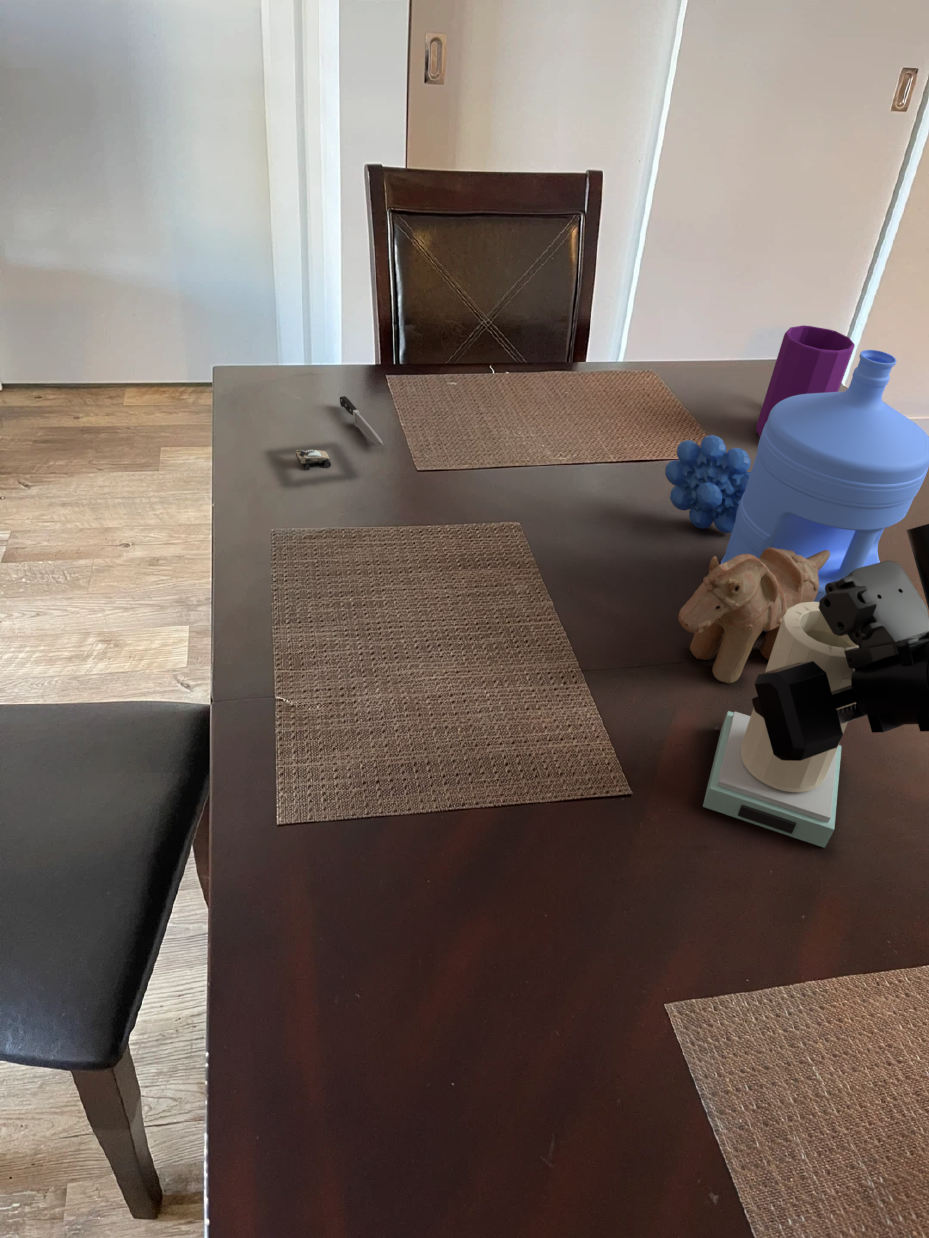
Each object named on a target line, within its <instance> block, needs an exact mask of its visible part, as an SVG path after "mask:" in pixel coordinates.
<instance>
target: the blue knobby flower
mask: <svg viewBox="0 0 929 1238" xmlns="http://www.w3.org/2000/svg"><path fill="white" fill-rule="evenodd" d="M676 456H677V458H678V459H674V460H670V461H669V462H668V463H667V464H666V465H665V472H664V475H665V477H666V479H667V481H668V482H669V483H670V484H671V485H672V486H673V487H672V489H671V490H670V496H669V499H670V502H671V504H672V505H673V506H674V507H675V508H676V509H677V510H680V511H688V510H689V512H688V518H689V520H690V523H691V524H692V525H693V526H694V527H696V528H698V529H704V530H706V529H709V528H710V527H711V526H712V524H714V526H715V528H716V529H717V530H718V531H719V532H721V533H723V534H732V531H733V527H734V524H735V520H736V514H737V510H738V507H739V504H740V500H741V498H742V496H743V494H744V492H745V489H746V486H747V483H748V480H749V477H750V474H751V471H749V470H750V468H751V462H752V460H751V458H750V456H749V454H748V452H747V451H746V450H745V449H743V448H740V447H732V448H730V449H728V451H727V446H726V444H725V442H724V440H723V439H722V438H720V437H719V436H717V435H715V434H710V435H706V436H704V437H703V439H702V440H701V442H700V444H698V443H697V442H696V441H694V440H690V439H687V440H683V441H681V442H679V444H678V445H677V449H676Z"/></svg>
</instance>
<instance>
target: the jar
mask: <svg viewBox="0 0 929 1238" xmlns="http://www.w3.org/2000/svg"><path fill="white" fill-rule="evenodd" d="M858 647H859V646H858V645H856V644H855V643H853V642H852V641H851V639H850V638H849V636H848V635H843V636H837V635H835V634H834V633H833V632H832V631H831V629H830V627H829V625H828V624H827V622H826V620H825V618H824V617H823V615H822V613H821V611H820V610H819V602H804V603H799V604H796V605H794V606H792V607H790V608H789V609H787V611H786V613H785V615H784V616H783V619H782V622H781V625H780V628H779V631H778V634H777V637H776V640H775V643H774V646H773V649H772V652H771V656H770V659H769V660H768V662H767V665H766V668H765V672H768V671H771V670H775V669H778V668H781V667H784V666H788V665H793V664H796V663H799V662H801V663H802V662H809V661H814V662H815V663H816V664H817V665H818V666H819V667H820V668H822V669H823V670H824V671H825V672H826V674H827V677H828V681H829V685H830V688H831V692H832V691H835V690H838V689H841V688H844V687H847V686H850V685H851V676H852V672H853V669H851V668H849V667H848V663H847V660H846V656H845V652H844V651H846V650H849V649H852V648H858ZM765 672H764V673H765ZM757 696H758V695H757V694H756V697H757ZM853 704H856V703H853ZM850 705H852V704H850ZM848 706H849V705H847V706H844V707H848ZM844 707H841V708H844ZM836 710H840V708H838V709H836ZM750 716H751V717H750V720H749V723H748V726H747V729H746V732H745V735H744V738H743V741H742V747H741V759H742V761H743V764H744V765H745V767H746V768H747V770H748V771H749V772H750V773H751V774H752V775H753V776H754V777H756V778H757V779H758V780H760V781H761V782H763V783H765V784H767V785H769V786H771V787H773V788H776V789H779V790H783V791H788V792H806V791H810V790H813V789H815V788H817V787H818V786H819V785H821V784H822V782H823V781H824V779H825V777H826V775H827V772H828V770H829V767H830V765H831V762H832V760H833V758H834V755H835V753H836V750H837V748H838V746H837V748H834V749H832V750H829V751H826V752H823V753H820V754H818V755H815V756H812V757H809V758H807V759H804V760H801V761H785V760H781V759H779V758H778V757H776V756H775V755H774V754H773V751H772V747H771V743H770V739H769V736H768V732H767V728H766V725H765V721H764V718H763V717H761V716H760V715H759V714H758V713H756V712H755V710H754V707H753V708H752V710H751V714H750ZM848 724H849V722H846V723H843V724H841V728H842V732H843V734H844V733H845V731H846V728H847V726H848ZM841 741H842V739H841V740H840V742H839V744H838V745H840V743H841Z"/></svg>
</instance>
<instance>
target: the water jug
mask: <svg viewBox="0 0 929 1238" xmlns="http://www.w3.org/2000/svg"><path fill="white" fill-rule="evenodd" d="M897 361H898V360H897V359H896V357H895V356H894V355H891V354H890V353H889V352H888V353H887V352H885V351H882V350H877V349H864V350H862V351H860V353H859V361H858V364H857V367H855V368H854V369H853V371H852V378H851V380H850V383H849V385H848V387H847V389H846V390H845V391H838V392H828V393H812V394H801V395H796V396H792V397H789V398H786V399H784V400H782V401H780V402H779V403H777V404H776V405H775V406H774V407H773V408H772V410H771V412H770V414H769V417H768V420H767V422H766V424H765V426H764V428H763V431H762V434H761V437H759V441H758V444H757V449H756V455H755V458H754V462H753V464H752V468H751V470H750V472H751V474H750V477H749V480H748V483H747V486H746V489H745V492H744V494H743V496H742V498H741V500H740V504H739V507H738V510H737V514H736V520H735V524H734V527H733V531H732V533H730V537H729V539H728V543H727V545H726V546H727V547H726V550H725V553H724V555H723V557H722V559H721V561H720V564H723V563H725V562H727V561H729V560H731V559H732V558H734V557H736V556H738V555H742V554H750V555H753V556H755V557H757V558H759V557H760V556H761V555H762V553H763V551H764V550H765V549H767V548H769V547H773V548H776V549H784V550H791V551H794V552H795V553H796V555H801V556H803V557H804V558H808V557H810V556H812V555H814V554H816V553H819V552H821V551H824V550H828V551H829V552H830V556H829V559H828V560H827V561H826V563H825V564H824V565H823V567H822V568H821V569H820V570H819V571H818V579H819V589H818V593H817V596H816V598H815V600H814V602H819V601H820V599H822V598H823V597H824V596H825V595H826V592H825V586H826V584H827V583H831V582H834V581H838V580H841V579H842V578H845V577H846V576H847V575H848V574H850V573H851V572H852V571H853V570H855V569H857V568H861V567H865V566H869V565H872V564H876V563H880V562H881V561H880V558H879V548H878V547H879V542H880V539H881V538H882V535H883V533H884V530H885V529H888V528H890V527H892V526H894V525H896V524H898V523H899V522H901V521H902V520H903V519H904V518H905V517H906V516H907V514H908V513H909V510H910V508H911V506H912V503H913V501H914V498H915V497H916V496H917V494H918V493H919V491H920V489H921V487H922V485H923V483H924V481H925V479H926V476H927V473H928V471H929V435H928V433H926V431H925V430H924V429H923V428H922V427H921V426H920V425H919V424H917V423H916V422H915V421H913V420H912V419H910V418H909V417H907V416H906V415H904V414H902V413H901V412H899V411H898V410H897V409H895V408H894V407H892V406H890V405H889V404H887V403H886V402H884V401H883V394H884V392H885V389H886V386H887V385H888V384H889V382H890V380H891V376H890V374H891V372H892V368H893V367H894V366H896V365H897ZM762 632H765V633H766V632H767V631H766V630H763V631H762Z"/></svg>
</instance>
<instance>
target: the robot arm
mask: <svg viewBox="0 0 929 1238" xmlns="http://www.w3.org/2000/svg"><path fill="white" fill-rule="evenodd" d="M906 533H907V537H908V541H909V544H910V548H911V551H912V554H913V558H914V562H915V565H916V569H917V574H918V576H919V581H920V583H921V587H922V591H923V594H924V598H925V601H924V600H923V598H922V596H921V595H920V593H919V592H918V590H917V589H916V587H915V585H914V584H913V582H912V580H911V579H910V577H909V575H908V574H907V572H906V570H905V569H904V568H903V567H902V566H901V565H900V564H899V563H898V562H896V561H894V560H884V561H880V563H876V564H872V565H869V566H865V567H861V568H857V569H855V570H853V571H852V572H851V573H850V574H848V575H847V576H846V577H845V578H842V579H841V580H838V581H834V582H831V583H827V584H826V586H825V592H826V595H825V596H824V597H823V598H822V599H820V601H819V610H820V611H821V613H822V615H823V617H824V618H825V620H826V622H827V624H828V625H829V627H830V629H831V631H832V632H833V633H834V634H835V635H837V636H843V635H848V636H849V638H850V639H851V641H852V642H853V643H855V644H856V645H858V646H859V647H858V648H852V649H849V650H846V651H844V652H845V656H846V660H847V663H848V667H849V668H851V669H853V672H852V676H851V685H850V686H847V687H844V688H841V689H838V690H835V691H832V692H831V688H830V685H829V681H828V677H827V674H826V672H825V671H824V670H823V669H822V668H820V667H819V666H818V665H817V664H816V663H815V662H814V661H809V662H802V663H801V662H799V663H796V664H793V665H788V666H784V667H781V668H778V669H775V670H771V671H768V672H762V673H758V675H757V677H756V679H755V682H754V688H755V691H756V696H755V697H753V698H752V699H751V703H752V707H753V708H754V710H755V712H756V713H758V714H759V715H760V716H761V717H763V718H764V721H765V725H766V728H767V732H768V736H769V739H770V743H771V747H772V751H773V754H774V755H775V756H776V757H778V758H779V759H781V760H785V761H801V760H804V759H807V758H809V757H812V756H815V755H818V754H820V753H823V752H826V751H829V750H832V749H834V748H837V746H838V744H839V745H840V743H841V741H842V738H843V737H844V733H843V732H842V728H841V724H843V723H846V722H848V723H849V722H852V721H854V720H857V719H860V718H863V717H866V716H867V719H868V723H869V726H870V730H871V733H872V734H873V733H885V732H888V731H891V730H893V729H896V728H900V727H902V726H904V725H918V729H919V732H924V733H925V732H929V523H927V524H923V525H918V526H916V527H912V528H908V529H906ZM757 695H758V696H757ZM853 703H856V704H853ZM850 704H852V705H850ZM847 705H849V706H848V707H844V706H847ZM841 707H844V708H841ZM838 708H840V710H836V709H838ZM840 740H841V741H840ZM839 742H840V743H839Z"/></svg>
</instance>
